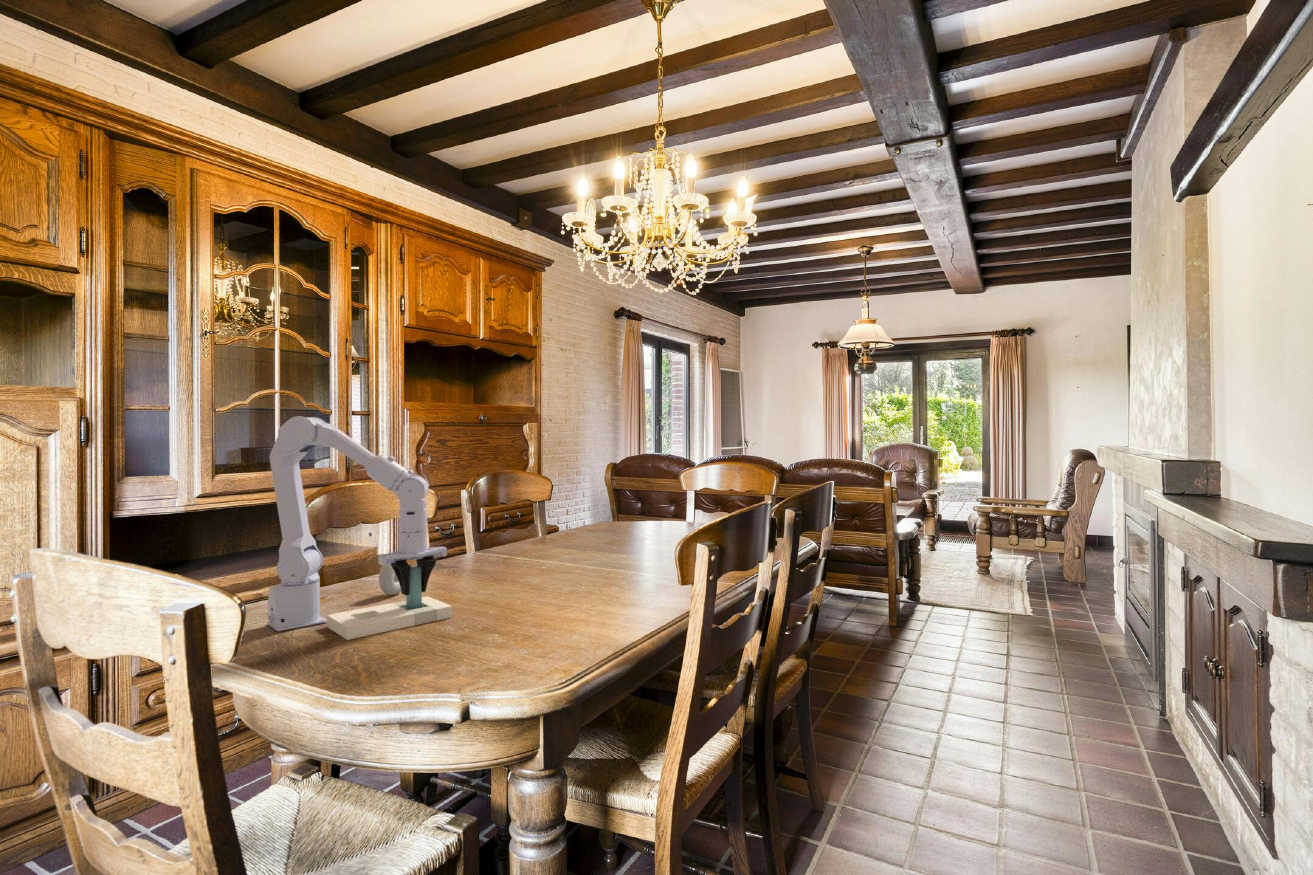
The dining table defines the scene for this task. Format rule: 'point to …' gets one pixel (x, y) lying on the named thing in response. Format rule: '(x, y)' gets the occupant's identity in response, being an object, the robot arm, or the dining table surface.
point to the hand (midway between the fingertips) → (413, 592)
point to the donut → (388, 580)
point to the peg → (414, 588)
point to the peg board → (386, 618)
